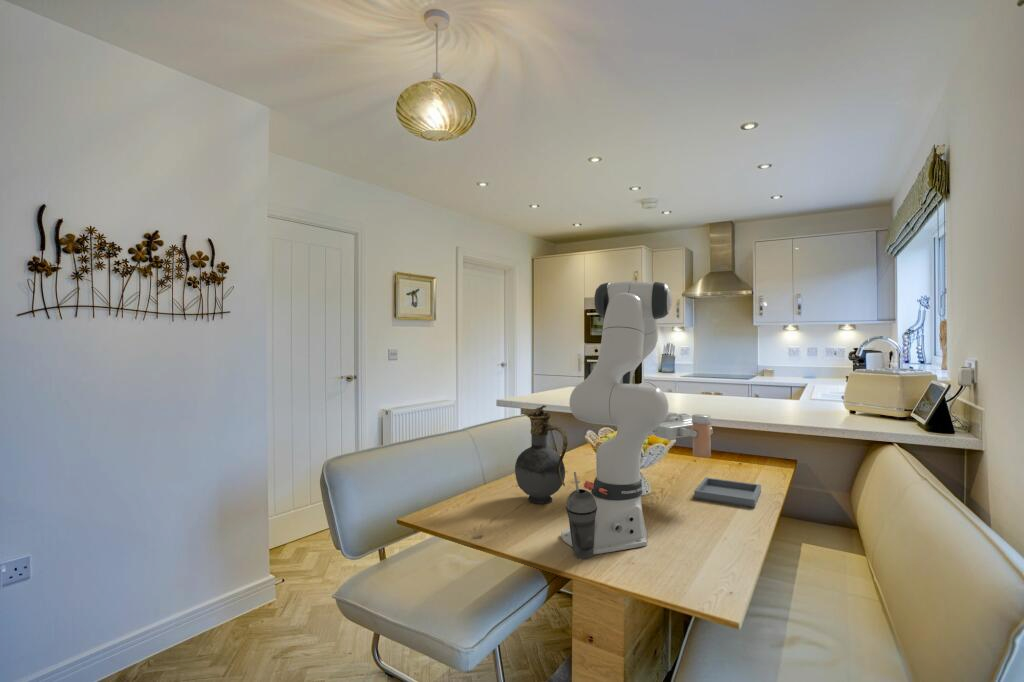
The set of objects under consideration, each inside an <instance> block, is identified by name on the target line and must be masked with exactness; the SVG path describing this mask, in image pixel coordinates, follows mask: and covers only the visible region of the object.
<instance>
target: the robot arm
mask: <svg viewBox="0 0 1024 682" xmlns="http://www.w3.org/2000/svg"><path fill="white" fill-rule="evenodd" d="M593 297H594V298H593V304H594V306H593V307H594V309H595V312H596V313H597V315H599V317H602V318H603V322H602V323H603V324H602V331H601V341H600V347H599V353H598V359H597V360H596V363H595V366H594V367H593V369H592V371H591V373H590V374H589V375H588V376H587V377H586V378H585V379H584V380H583V381H582V382H580V383H579V384H577V385H576V386H575V387H574V389H573V390H572V392H571V394H570V396H569V408H570V412H571V414H572V415H573V417H574V418H575V419H577V420H578V421H582V422H585V423H589V424H593V425H603V426H615V427H616V435H615V436H613V437H611V438H608V439H606V440H605V441H603V442H602V443H600V444H599V445H598V447H597V449H596V453H595V455H596V458H595V459H596V462H595V463H596V477H595V478H594V480H593V482H592V481H589V480H585V481H584V483H583V488H584V489H585V490H587V491H590V493H591V494H592V495H593V497H594V499H595V501H596V505H597V512H596V517H595V533H594V549H593V555H599V554H605V553H611V552H612V553H613V552H617V551H618V552H619V551H624V550H628V549H634V548H641V547H646V546H648V541H647V538H648V531H647V528H646V525H645V524H646V523H645V520H644V514H643V513H644V512H643V507H642V505H643V504H642V498H641V496H642V495H643V484H642V479H641V475H640V474H641V455H642V449H643V445H644V443H645V441H646V439H647V438H648V437H649V436H655V437H656V438H660V439H663V440H668V441H673V440H676V439H677V438H678V439H679V438H684V437H692V438H693V437H696V436H698V431H697V430H693V422H692V415H691V414H689V413H677V412H671V411H669V401H668V397H667V396H666V394H665V392H663V390H662V389H661V388H659V387H658V386H656V385H655V384H653V383H651V382H648V381H643V382H641V383H633V378H634V377H633V376H634V373H635V371H636V369H637V368H638V367H639V366H640V364H641V363H642V362H643V361H644V360H645V359H646V358H647V357H648V356H649V355H650V354H651V353H652V352H653V351H654V350H655V348H656V346H657V342H658V338H659V337H658V336H659V332H658V328H659V327H658V319H662V318H663V319H664V318H665V317H666V316H667V315H668V314H669V313H670V311H671V309H672V304H673V295H672V293H671V290H670V287H669V286H668V285H667V284H666V283H664V282H659V281H654V282H649V281H633V280H631V281H630V280H626V281H617V282H610V281H609V282H604V283H601V284H599V286H598V287H597V288H596V289H595V293H594V296H593ZM712 424H713V423H712V422H711V423H710V433H711V435H712V434H713V433H714V432H713V427H712V426H713V425H712ZM560 534H561V535H560V537H561V539H562V540H563V542H565V543H566V544H567V545H569V546H570V547H572V548H573V546H572V539H571V531H570V527H568V528H567V529H564V530H562V531H561V533H560Z"/></svg>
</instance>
